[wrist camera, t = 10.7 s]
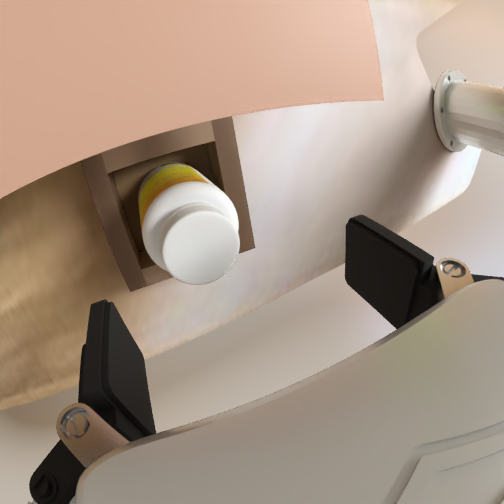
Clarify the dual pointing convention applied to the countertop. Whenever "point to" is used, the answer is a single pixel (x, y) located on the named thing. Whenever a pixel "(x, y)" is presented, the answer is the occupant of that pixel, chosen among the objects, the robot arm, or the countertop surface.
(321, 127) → the countertop surface
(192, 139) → the socket block
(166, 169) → the supplement bottle
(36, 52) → the pink-topped white panel
